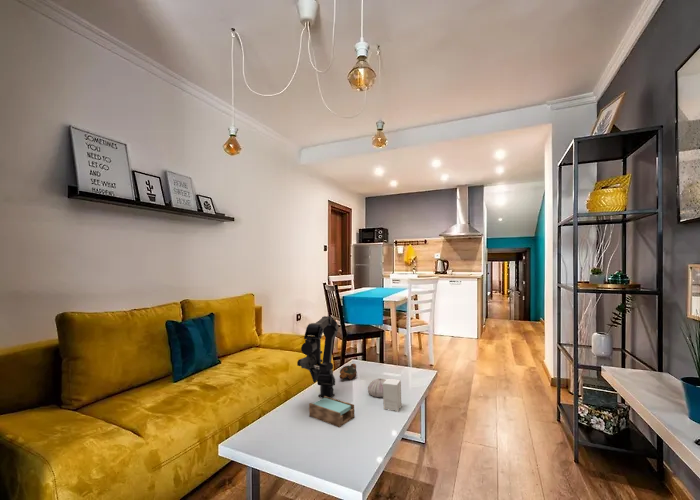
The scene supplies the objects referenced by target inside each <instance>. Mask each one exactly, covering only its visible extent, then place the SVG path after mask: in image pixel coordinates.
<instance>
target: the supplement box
mask: <svg viewBox="0 0 700 500" xmlns="http://www.w3.org/2000/svg"><path fill="white" fill-rule="evenodd" d="M382 400H383V403H382V404H383V410H385V409H389V410H388V411H391V410H395V411H394V412H397V411H398V412H399V410H400V409H401V407H402V406H401V405H402V382H401V379H394V378H393V379H392V378H386V379H385V382H384V383H383V397H382ZM399 408H400V409H399Z"/></svg>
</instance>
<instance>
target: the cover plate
mask: <svg viewBox="0 0 700 500" xmlns="http://www.w3.org/2000/svg"><path fill="white" fill-rule="evenodd" d="M312 404H315V405H318V406H321V407H324V408H327V409H330V410H333V411H336V412H339V413H340V416H341V415H342V414H344V413H346V412H347V411H349V410H351V406H350V405H347V404H344V403H341V402H337V401H334V400H331V399H328V398H321V399H319V400H317V401H315V402H313V403H312Z"/></svg>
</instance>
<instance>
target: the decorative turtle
mask: <svg viewBox="0 0 700 500" xmlns="http://www.w3.org/2000/svg"><path fill="white" fill-rule="evenodd" d="M357 374H358V372H357V364H356V363H351V364H350V365H345V366H343V367H342V368H341V369H339V378H340V380H343V379H344V378H345V379H346V378H348V380H349V381H352V379H356V378H355V377H357ZM345 379H344V380H345Z"/></svg>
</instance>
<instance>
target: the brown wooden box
mask: <svg viewBox="0 0 700 500" xmlns="http://www.w3.org/2000/svg"><path fill="white" fill-rule="evenodd" d="M324 398H328V399H331V400H334V401H337V402H341V403H344V404H347V405H350V406H351V410H349V411H347V412H346V413H344V414H342V415H341V416H340V413H339V412H336V411H333V410H330V409H327V408H324V407H321V406H318V405H315V404H313V403H312V402H310V403H309V404H308V406H309V407H308V410H309V412H308V413H309V414H308V415H309V416H308V417H310V418H312V419H315V420H318V421H322V422H323V423H326V424H330V425H332V426H335V427H336V428H337V427H338V428H341V427H343V426H344V425H345V424H347V423H349V422H350V421H352V420H353V419H355V404H353V403H349V402H346V401H344V400H339V399H336V398H332V397H327V396H324Z"/></svg>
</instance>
